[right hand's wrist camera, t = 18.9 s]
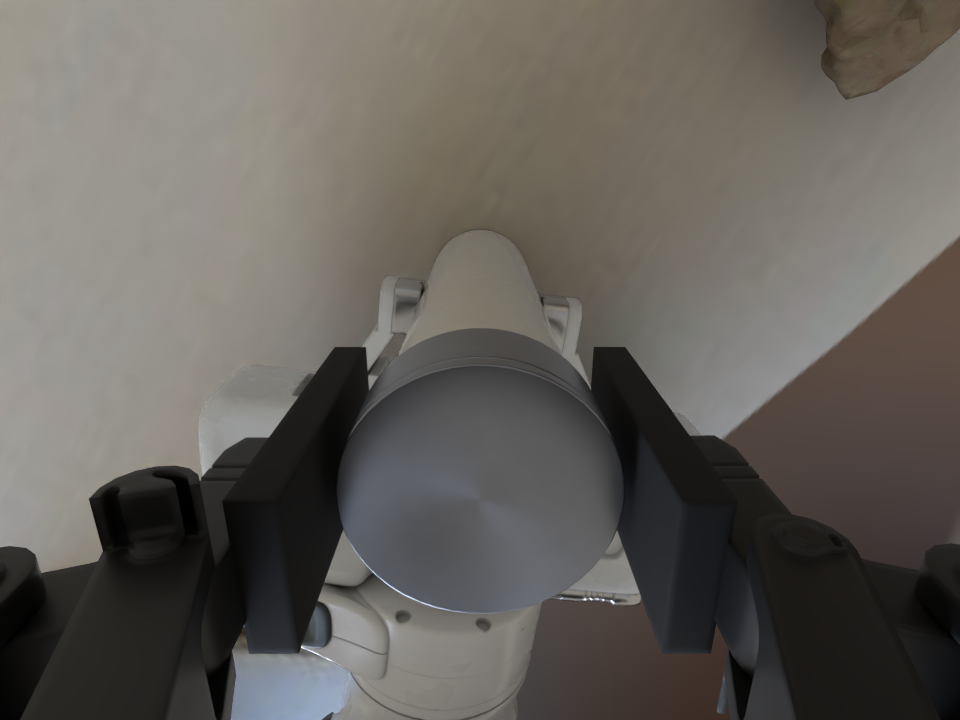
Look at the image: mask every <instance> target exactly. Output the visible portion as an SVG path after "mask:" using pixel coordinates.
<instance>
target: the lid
mask: <svg viewBox="0 0 960 720" xmlns="http://www.w3.org/2000/svg"><path fill="white" fill-rule="evenodd" d="M335 494H336V505H337V510H338V514H339V518H340V522H341V524H342V527H343V529H344V532H345V535H346V537H347V539H348V540H349V542H350V544H351V546H352V548H353V549H354V551H355V552H356V554H357V555H358V556H359V558H360V559H361V560H362V562H363V563H364V564H365V565H366V566H367V567H368V568H369V569H370V570H371V571H372V572H373V573H374V574H375V575H376V576H377V577H378V578H380V579H381V580H382V581H383V582H385V583H386V584H387V585H388V586H390V587H392V588H393V589H395V590H396V591H398V592H400V593H401V594H403V595H405V596H407V597H409V598H411V599H413V600H416V601H418V602H420V603H423V604H426V605H429V606H432V607H435V608H439V609H444V610H448V611H453V612H461V613H475V614H488V613H500V612H507V611H512V610H517V609H522V608H525V607H528V606H532V605H535V604H538V603H540V602H543V601H545V600H547V599H550V598H552V597H554V596H556V595H557V594H559V593H561V592H563V591H564V590H566V589H568V588H569V587H571V586H572V585H573V584H575V583H576V582H577V581H579V580H580V579H581V578H582V577H584V576H585V575H586V574H587V573H588V572H589V571H590V570H591V569H592V568H593V567H594V566H595V565H596V563H597V562H598V561H599V560H600V559H601V557H602V556H603V555H604V553H605V552H606V550H607V548H608V547H609V545H610V544H611V542H612V540H613V538H614V536H615V534H616V531H617V529H618V527H619V524H620V520H621V517H622V513H623V509H624V501H625V474H624V469H623V463H622V459H621V456H620V453H619V450H618V448H617V445H616V442H615V440H614V438H613V436H612V434H611V432H610V429H609V427H608V425H607V423H606V421H605V419H604V416H603V414H602V412H601V410H600V408H599V406H598V403H597V401H596V399H595V397H594V395H593V393H592V391H591V389H590V388H589V386H588V384H587V383H586V381H585V380H584V378H583V377H582V376H581V374H580V373H579V372H578V371H577V370H576V368H575V367H574V366H573V365H572V364H571V363H570V362H569V361H568V360H567V359H565V358H564V357H563V356H561V355H560V354H559V353H558V352H556V351H555V350H553V349H552V348H550V347H548V346H547V345H545V344H543V343H541V342H539V341H537V340H535V339H532V338H530V337H528V336H525V335H522V334H518V333H514V332H511V331H506V330H499V329H492V328H470V329H461V330H455V331H450V332H446V333H442V334H439V335H436V336H433V337H431V338H428V339H425V340H423V341H421V342H420V343H418V344H416V345H414V346H412V347H410V348H409V349H407V350H406V351H405V352H403V353H402V354H400V355H399V356H398V357H396V358H395V359H394V360H393V361H392V362H391V363H390V364H389V365H388V366H387V367H386V368H385V369H384V370H383V371H382V373H381V374H380V375H379V376H378V378H377V379H376V380H375V382H374V384H373V385H372V387H371V389H370V390H369V392H368V394H367V396H366V398H365V400H364V403H363V405H362V407H361V409H360V411H359V414H358V416H357V418H356V420H355V422H354V424H353V427H352V429H351V431H350V433H349V435H348V437H347V440H346V442H345V445H344V447H343V450H342V452H341V455H340V458H339V463H338V467H337V471H336V483H335Z"/></svg>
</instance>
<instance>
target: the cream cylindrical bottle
mask: <svg viewBox="0 0 960 720" xmlns="http://www.w3.org/2000/svg"><path fill="white" fill-rule="evenodd" d="M470 328H492V329H499V330H506V331H511V332H514V333H518V334H522V335H525V336H528V337H530V338H532V339H535V340H537V341H539V342H541V343H543V344H545V345H547V346H548V347H550V348H552V349H553V350H555V351H556V352H558V353H559V354H560V355H561V356H563V355H562V353H561V350H560V348H559V345H558V343H557V340H556V338H555V335H554V333H553V330H552V328H551V325H550V323H549V320H548V318H547V315H546V313H545V310H544V308H543V305H542V303H541V300H540V298H539V295H538V293H537V290H536V288H535V285H534V283H533V280H532V278H531V275H530V273H529V270H528V268H527V265H526V263H525V260H524V258H523V256H522V254H521V252H520V251H519V249H518V248H517V247H516V246H515V244H514V243H513V242H511V241H510V240H509V239H508V238H506V237H504V236H503V235H501V234H498V233H496V232H493V231H488V230H472V231H468V232H465V233H462V234H460V235H458V236H456V237H454V238H453V239H451V240H450V241H449V242H448V243H447V244H446V245H445V246H444V247H443V248H442V250H441V251H440V253H439V254H438V256H437V259H436V261H435V263H434V266H433V269H432V271H431V274H430V276H429V279H428V281H427V284H426V286H425V289H424V291H423V294H422V296H421V299H420V301H419V304H418V306H417V309H416V311H415V314H414V316H413V319H412V321H411V324H410V326H409V329H408V331H407V334H406V336H405V339H404V341H403V344H402V346H401V349H400V351H399V354H398V356H399V355H400V354H402V353H403V352H405V351H406V350H407V349H409V348H410V347H412V346H414V345H416V344H418V343H420V342H421V341H423V340H425V339H428V338H431V337H433V336H436V335H439V334H442V333H446V332H450V331H455V330H461V329H470ZM398 356H397V357H398Z"/></svg>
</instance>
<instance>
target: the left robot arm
mask: <svg viewBox="0 0 960 720" xmlns="http://www.w3.org/2000/svg"><path fill="white" fill-rule="evenodd" d="M424 285H425V281H424V280H417V279H410V278H402V277H397V276H386V277H385V279H384V280H383V282H382V286H381V292H380V302H379V317H378V324H377V325H376V326H375V328H374V329H373V331H372V332H371V333H370V335H369V336H368V338H367V339H366V341H365V342H364V343H363V345H362V346H361V347H366V354H367V368H368V382H369V390H370V389H371V387H372V385H373V384H374V382H375V380H376V379H377V378H378V376H379V375H380V374H381V373H382V371H383V370H384V369H385V368H386V367H387V366H388V365H389V359H388V358H387V357H380V356H379V355H380V354H381V352H382V351H383V350H384V348H385V347H386V345H387V344H388V343H389V341H390V340H391V338H392V337H393V336H394V334H395V333H403V334H407V331H408V329H409V326H410V324H411V321H412V319H413V316H414V314H415V311H416V309H417V306H418V304H419V301H420V299H421V296H422V294H423V291H424ZM539 298H540V300H541V303H542V305H543V308H544V310H545V313H546V315H547V318H548V320H549V323H550V325H551V328H552V330H553V333H554V335H555V338H556V340H557V343H558V345H559V348H560V350H561V353H562V355H563V357H564V358H565V359H567V360H568V361H569V362H570V363H571V364H572V365H573V366H574V367H575V368H576V370H577V371H578V372H579V373H580V374H581V376H582V377H583V378H584V380H585V381H586V383H587V384H588V386H589V388H590V389H591V386H590V383H589V380H588V378H587V375H586V373H585V370H584V367H583V365H582V362H581V360H580V357H579V354H578V352H577V350H576V347H577V342H578V337H579V331H580V326H581V321H582V304H581V303H580V301H579V300H578V298H570V297H562V296H552V295H543V294H541V295H540V297H539ZM378 356H379V357H378ZM315 374H316V372H315V371H306V370H297V369H288V368H280V367H271V366H263V365H248V366H245V367H243V368H242V369H240V370H239V371H238V372H236V373H235V374H234V375H233V376H231V377H230V378H229V379H228V380H226V381H225V382H224V383H223V384H222V385H221V386H220V387H219V388H218V389H217V390H216V391H215V392H214V393H213V394H212V395H211V396H210V397H209V399H208V400H207V401H206V403H205V404H204V406H203V408H202V410H201V412H200V416H199V424H198V437H199V452H200V463H201V471H202V476H203V475H204V474H205V473H206V472H207V470H208V469H209V468H212V465H213V463H214V462H215V461H216V460H217V459H218V457H219V456H220V455H221V454H222V453H223V452H224V450H226V449H228V448H229V447H231V446H233V445H234V444H236V443H238V442H239V441H241V440H243V439H244V438H246V437H269V436H270V435H271V434H272V432H273V431H274V430H275V428H276V427H277V426H278V424H279V423H280V421H281V420H282V419H283V417H284V416H285V415H286V413H287V412H288V411H289V409H290V408H291V406H292V405H293V404H294V402H295V401H296V400H297V398H298V397H299V395H300V394H301V393H302V391H303V390H304V389H305V387H306V386H307V385H308V383H309V382H310V380H311V379H312V378H313V376H314V375H315ZM673 413H674V415H675V416H676V417H677V419H678V420H679V421H680V423H681V424H682V426H683V427H684V428H685V430H686V431H687V432H688V434H689V435H690V436H701V434H700V433H699V432H698V431H697V429H696V428H695V427H694V426H693V425H692V424H691V422H690V421H689V420H688V419H687V418H686V417H685V416H684V415H682V414H680V413H676V412H673ZM550 599H556V600H566V601H601V602H609V603H610V604H612V605H617V606H634V605H638V604H640V602H641V599H642V598H641V596H640V593H639V590H638V587H637V584H636V582H635V579H634V576H633V573H632V571H631V568H630V565H629V562H628V559H627V557H626V554H625V551H624V548H623V546H622V543H621V540H620V537H619V534H618V532H617V531H616V534H615V536H614V538H613V540H612V542H611V544H610V545H609V547H608V548H607V550H606V552H605V553H604V555H603V556H602V557H601V559H600V560H599V561H598V562H597V563H596V565H595V566H594V567H593V568H592V569H591V570H590V571H589V572H588V573H587V574H586V575H585V576H584V577H582V578H581V579H580V580H579V581H577V582H576V583H575V584H573V585H572V586H571V587H569V588H568V589H566V590H564V591H563V592H561V593H559V594H557V595H556V596H554V597H552V598H550ZM540 607H541V602H540V603H538V604H535V605H532V606H528V607H525V608H522V609H517V610H512V611H507V612H500V613H488V614H475V613H461V612H453V611H448V610H444V609H439V608H435V607H432V606H429V605H426V604H423V603H420V602H418V601H416V600H413V599H411V598H409V597H407V596H405V595H403V594H401V593H400V592H398V591H396V590H395V589H393V588H392V587H390V586H388V585H387V584H386V583H385V582H383V581H382V580H381V579H380V578H378V577H377V576H376V575H375V574H374V573H373V572H372V571H371V570H370V569H369V568H368V567H367V566H366V565H365V564H364V563H363V562H362V560H361V559H360V558H359V556H358V555H357V554H356V552H355V551H354V549H353V548H352V546H351V544H350V542H349V540H348V539H347V537H346V535H345V532H344V529H343V532H342V534H341V537H340V540H339V543H338V546H337V548H336V551H335V554H334V557H333V559H332V562H331V565H330V568H329V571H328V573H327V576H326V579H325V582H324V584H323V587H322V590H321V593H320V596H319V598H318V601H317V604H316V607H315V610H314V612H313V615H312V618H311V621H310V623H309V626H308V629H307V632H306V635H305V637H304V640H303V643H302V646H301V648H303V649H306V650H308V651H310V652H313V653H315V654H317V655H319V656H321V657H323V658H325V659H327V660H330V661H332V662H333V663H335V664H337V665H339V666H341V667H342V668H344V669H346V670H348V674H349V675H348V677H347V680H346V682H345V685H344V688H343V692H342V697H341V701H340V708H339V712H338V713H336V714H334V713H333V712H332V713H330V714H329V715H327V716H326V717H324V718H323V719H322V720H517V702H516V695H517V693H518V691H519V690H520V688H521V686H522V684H523V682H524V679H525V677H526V674H527V670H528V666H529V662H530V656H531V652H532V647H533V642H534V637H535V632H536V627H537V622H538V617H539V612H540Z"/></svg>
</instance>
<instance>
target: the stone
mask: <svg viewBox="0 0 960 720" xmlns="http://www.w3.org/2000/svg"><path fill="white" fill-rule="evenodd" d="M814 3H815V6H816V7H817V8H818V10H819V11H820V12H821V13H822V15H823V16H824V17H825V20H826V40H827V48H826V50H825V51H824V53H823V54H822V60H821V68H822V69H823V71H824V73H825V74H826V75H827V76H828V77H829V78H830V79H831V80H832V81H833V82H834V83H835V84H836V86H837V88H838V90H839V92H840V93H841V95H842V96H843V97H844V98H845V99H846V100H847V99H850V98H854V97H858V96H861V95H865V94H869V93H872V92H876V91H878V90H879V89H881V88H882V87H884V86H885V85H887V84H888V83H889V82H891V81H893V80H894V79H896V78H898V77H899V76H901V75H903V74H904V73H906V72H908V71H909V70H911V69H912V68H913V67H915V66H916V65H918V64H919V63H920V62H922V61H923V60H924V59H925V58H926V57H927V56H928V55H929V54H930V53H931V52H932V51H933V50H935V49H936V48H937V47H938V46H939V45H941V44H942V43H944V42H945V41H946V40H948V39H949V38H950V37H951V36H952V35H953V34H954V33H955V32H956V31H958V30H959V29H960V0H814Z"/></svg>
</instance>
